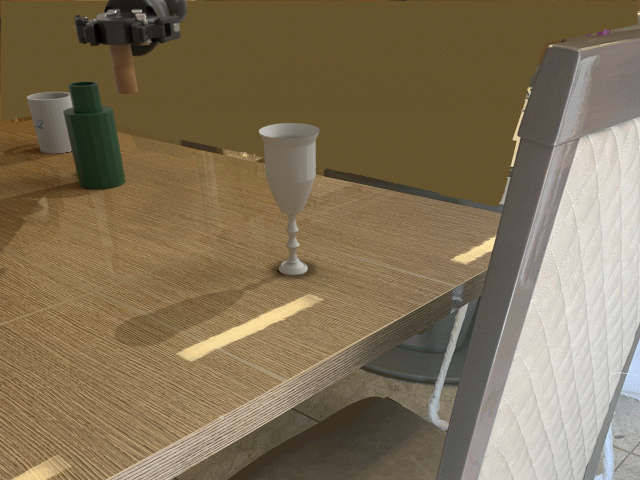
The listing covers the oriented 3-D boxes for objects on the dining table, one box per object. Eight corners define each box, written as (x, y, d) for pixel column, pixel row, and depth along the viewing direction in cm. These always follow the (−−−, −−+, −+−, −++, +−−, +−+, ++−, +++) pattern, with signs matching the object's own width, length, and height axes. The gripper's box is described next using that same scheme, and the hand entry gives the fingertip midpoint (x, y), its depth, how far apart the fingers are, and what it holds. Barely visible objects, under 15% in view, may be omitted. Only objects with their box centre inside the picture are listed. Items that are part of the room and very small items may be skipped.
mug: (83, 151, 133) (72, 98, 127) (39, 155, 131) (26, 101, 125) (81, 137, 143) (70, 87, 137) (40, 141, 140) (27, 90, 134)
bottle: (75, 189, 113) (52, 88, 103) (85, 176, 119) (64, 80, 109) (121, 188, 113) (102, 87, 104) (128, 175, 120) (111, 79, 110)
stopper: (106, 95, 80) (91, 20, 76) (113, 89, 84) (100, 17, 79) (143, 95, 81) (131, 20, 76) (148, 88, 84) (137, 16, 79)
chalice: (275, 267, 86) (268, 121, 75) (325, 271, 85) (325, 124, 74) (260, 291, 80) (250, 136, 69) (313, 295, 79) (312, 140, 68)
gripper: (79, -11, 87) (44, -2, 74) (185, -12, 88) (169, -3, 74) (91, 52, 92) (60, 72, 78) (191, 51, 92) (178, 70, 79)
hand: (113, 35), depth 76 cm, fingers closed on stopper, 4 cm apart
